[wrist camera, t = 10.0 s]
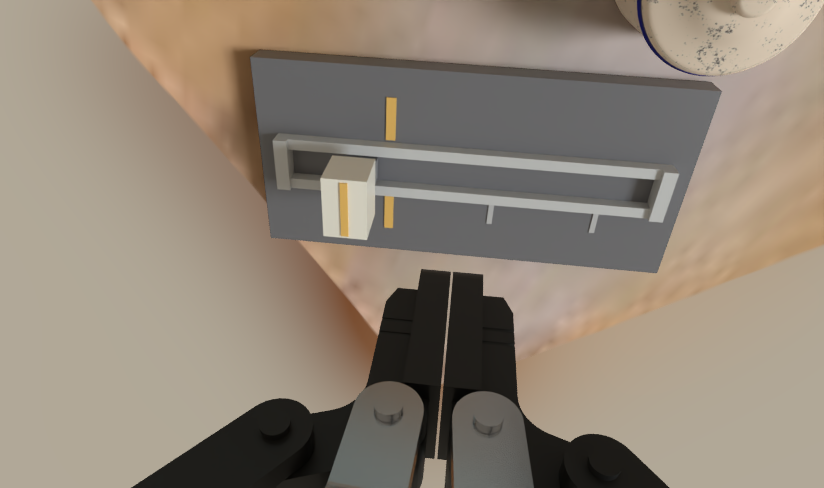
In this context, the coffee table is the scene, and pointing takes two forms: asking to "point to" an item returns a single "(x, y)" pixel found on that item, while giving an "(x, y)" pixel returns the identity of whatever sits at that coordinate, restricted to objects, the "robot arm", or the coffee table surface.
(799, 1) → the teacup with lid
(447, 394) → the robot arm
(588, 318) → the coffee table surface
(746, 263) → the coffee table surface
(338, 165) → the fader
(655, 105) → the console
